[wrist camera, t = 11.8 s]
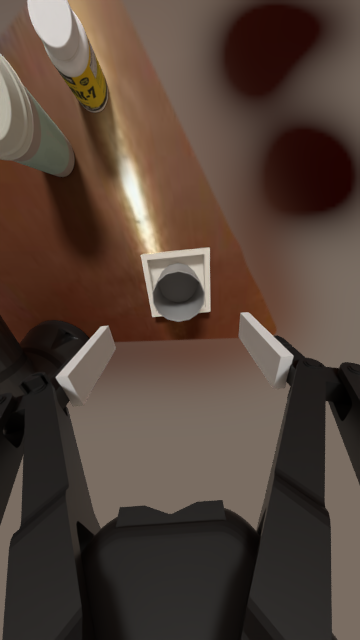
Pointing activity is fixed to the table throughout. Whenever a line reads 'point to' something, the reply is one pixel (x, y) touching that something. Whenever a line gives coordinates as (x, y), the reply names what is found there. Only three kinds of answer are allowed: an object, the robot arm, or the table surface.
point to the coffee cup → (30, 129)
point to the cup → (178, 293)
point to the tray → (190, 257)
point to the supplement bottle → (70, 51)
